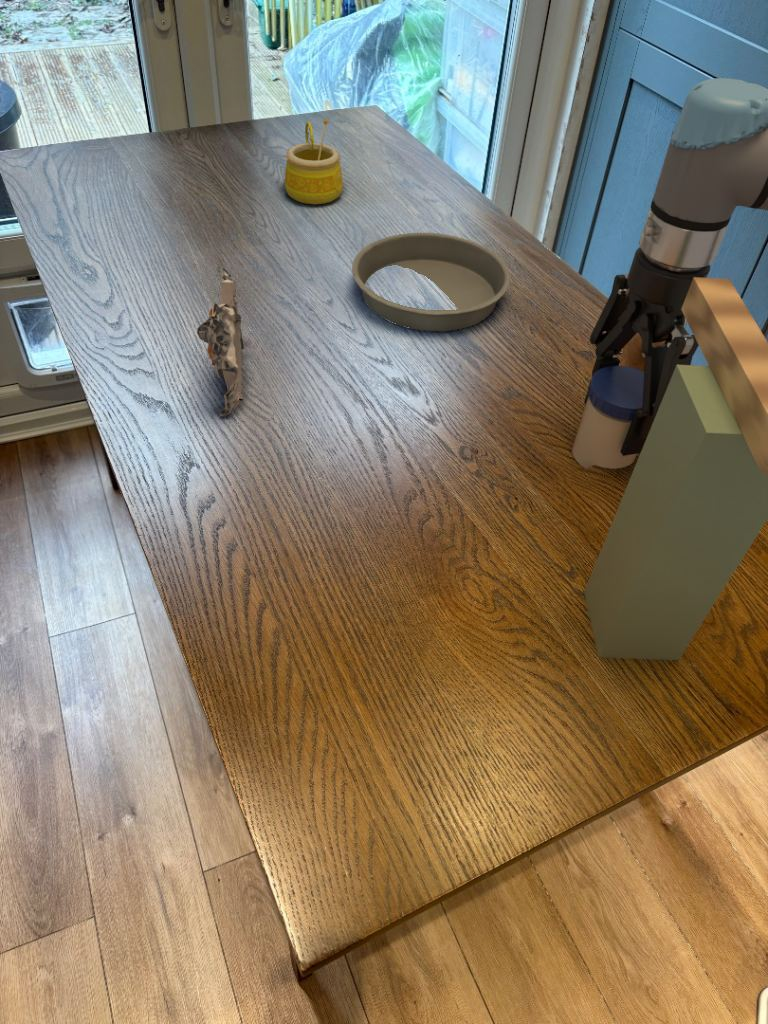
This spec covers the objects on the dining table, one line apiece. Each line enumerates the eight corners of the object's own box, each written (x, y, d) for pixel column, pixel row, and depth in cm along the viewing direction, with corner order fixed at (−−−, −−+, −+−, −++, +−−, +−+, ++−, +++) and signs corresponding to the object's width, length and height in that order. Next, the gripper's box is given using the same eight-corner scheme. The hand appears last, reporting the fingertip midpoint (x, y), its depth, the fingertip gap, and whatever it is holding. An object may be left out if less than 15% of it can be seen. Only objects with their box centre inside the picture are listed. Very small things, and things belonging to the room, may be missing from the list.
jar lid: (578, 405, 87) (581, 393, 86) (598, 369, 93) (602, 357, 91) (648, 430, 85) (653, 418, 84) (666, 391, 90) (670, 379, 89)
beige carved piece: (214, 351, 106) (202, 266, 96) (244, 351, 106) (236, 266, 97) (209, 420, 96) (196, 332, 86) (243, 419, 96) (234, 331, 87)
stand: (580, 598, 79) (676, 364, 57) (655, 601, 80) (778, 369, 58) (594, 664, 74) (706, 432, 52) (674, 667, 74) (819, 437, 52)
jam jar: (646, 464, 95) (672, 402, 87) (599, 483, 92) (622, 421, 84) (605, 428, 99) (627, 366, 92) (559, 445, 96) (578, 382, 89)
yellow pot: (329, 213, 137) (329, 145, 128) (275, 201, 139) (271, 133, 131) (355, 186, 146) (357, 121, 137) (304, 175, 148) (303, 110, 139)
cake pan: (390, 243, 131) (392, 218, 127) (525, 280, 124) (530, 255, 121) (323, 310, 115) (323, 283, 112) (473, 356, 109) (478, 329, 105)
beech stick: (680, 309, 63) (693, 276, 61) (715, 311, 63) (729, 278, 61) (761, 473, 49) (781, 439, 47) (806, 475, 49) (828, 441, 47)
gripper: (592, 209, 82) (548, 378, 98) (700, 316, 68) (628, 492, 84) (652, 204, 83) (599, 371, 100) (770, 308, 69) (686, 482, 86)
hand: (612, 426), depth 92 cm, fingers open, 9 cm apart
